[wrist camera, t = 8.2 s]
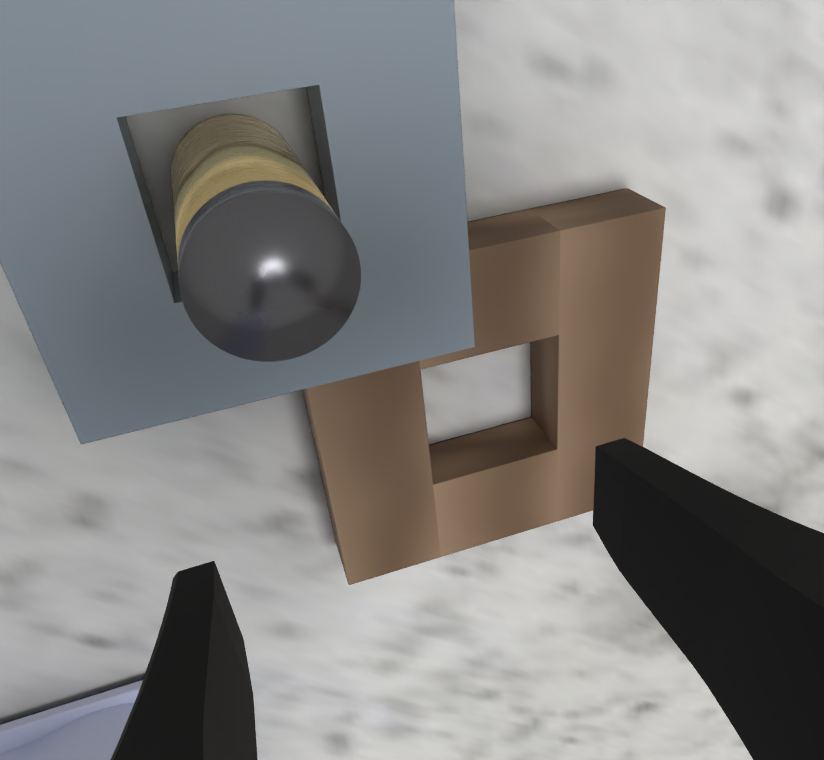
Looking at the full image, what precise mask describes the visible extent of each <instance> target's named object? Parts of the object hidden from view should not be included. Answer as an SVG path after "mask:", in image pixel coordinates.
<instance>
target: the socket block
mask: <svg viewBox="0 0 824 760" xmlns="http://www.w3.org/2000/svg"><path fill="white" fill-rule="evenodd" d="M302 87H307V93H308V98H309V104H310V110H311V116H312V122H313V128H314V134H315V140H316V146H317V152H318V158H319V163H320V169H321V175H322V181H323V187H324V193H325V199H326V201H327V202H328V204H329V205H330V206H331V208H332V209H333V211H334V212H335V214H336V215H337V217H338V218H339V220H340V221H341V222H342V224H343V225H344V227H345V228H346V230H347V231H348V233H349V234H350V236H351V238H352V240H353V242H354V244H355V246H356V249H357V252H358V255H359V260H360V266H361V284H360V291H359V295H358V299H357V302H356V304H355V307H354V309H353V311H352V313H351V315H350V317H349V319H348V320H347V321H346V323H345V324H344V326H343V327H342V328H341V329H340V330H339V331H338V332H337V333H336V335H335V336H333V337H332V338H331V339H330V340H329V341H328V342H326V343H325V344H323V345H322V346H320V347H319V348H317V349H315V350H313V351H311V352H309V353H308V354H305V355H302V356H300V357H297V358H293V359H289V360H283V361H276V362H261V361H252V360H247V359H243V358H239V357H237V356H234V355H231V354H229V353H227V352H225V351H223V350H221V349H219V348H218V347H216V346H215V345H213V344H212V343H210V342H209V341H208V340H207V339H206V338H205V337H203V336H202V334H201V333H200V332H199V331H198V330H197V329H196V328H195V326H194V325H193V323H192V322H191V320H190V319H189V317H188V315H187V313H186V310H185V308H184V305H183V302H182V299H181V294H180V288H179V277H178V272H176V273H172V269H171V266H170V263H169V259H168V256H167V253H166V250H165V246H164V243H163V240H162V237H161V233H160V230H159V227H158V223H157V220H156V217H155V214H154V210H153V207H152V204H151V201H150V197H149V194H148V191H147V187H146V184H145V181H144V178H143V174H142V171H141V168H140V165H139V161H138V158H137V155H136V151H135V148H134V145H133V142H132V138H131V135H130V132H129V129H128V125H127V122H126V119H125V116H130V115H136V114H142V113H148V112H154V111H160V110H167V109H173V108H179V107H185V106H191V105H197V104H204V103H210V102H216V101H222V100H228V99H234V98H240V97H247V96H253V95H259V94H265V93H271V92H277V91H284V90H290V89H296V88H302ZM0 263H1V265H2V267H3V270H4V272H5V274H6V276H7V279H8V281H9V283H10V285H11V288H12V290H13V292H14V294H15V297H16V299H17V301H18V304H19V306H20V308H21V310H22V313H23V315H24V317H25V319H26V322H27V324H28V326H29V328H30V331H31V333H32V335H33V337H34V340H35V342H36V344H37V346H38V349H39V351H40V353H41V355H42V358H43V360H44V362H45V364H46V367H47V369H48V371H49V373H50V376H51V378H52V380H53V382H54V385H55V387H56V389H57V391H58V394H59V396H60V398H61V400H62V403H63V405H64V407H65V409H66V412H67V414H68V416H69V418H70V421H71V423H72V425H73V427H74V430H75V432H76V434H77V436H78V439H79V441H80V443H81V444H85V443H89V442H93V441H97V440H101V439H105V438H109V437H113V436H117V435H121V434H125V433H129V432H133V431H137V430H141V429H145V428H149V427H153V426H157V425H161V424H166V423H170V422H174V421H178V420H182V419H186V418H190V417H194V416H198V415H202V414H206V413H210V412H214V411H218V410H222V409H226V408H230V407H234V406H238V405H242V404H246V403H250V402H254V401H258V400H262V399H267V398H271V397H275V396H279V395H283V394H287V393H291V392H295V391H299V390H303V389H307V388H311V387H315V386H319V385H323V384H327V383H331V382H335V381H339V380H343V379H347V378H351V377H355V376H359V375H363V374H368V373H372V372H376V371H380V370H384V369H388V368H392V367H396V366H400V365H404V364H408V363H412V362H416V361H420V360H424V359H428V358H432V357H436V356H440V355H444V354H448V353H452V352H456V351H460V350H465V349H469V348H473V347H475V343H474V326H473V310H472V293H471V277H470V260H469V243H468V227H467V210H466V193H465V177H464V160H463V144H462V127H461V110H460V94H459V77H458V61H457V44H456V27H455V11H454V0H0Z"/></svg>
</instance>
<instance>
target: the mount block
mask: <svg viewBox="0 0 824 760" xmlns="http://www.w3.org/2000/svg"><path fill="white" fill-rule="evenodd" d="M665 210H666V208H665V207H663V206H661V205H659V204H657V203H655V202H653V201H651V200H649V199H647V198H645V197H643V196H641V195H639V194H637V193H636V192H634V191H632V190H630V189H623V190H618V191H614V192H609V193H604V194H599V195H595V196H590V197H585V198H580V199H576V200H571V201H566V202H561V203H556V204H552V205H547V206H542V207H537V208H533V209H528V210H523V211H518V212H514V213H509V214H504V215H499V216H495V217H490V218H485V219H480V220H476V221H471V222H467V227H468V243H469V260H470V277H471V293H472V310H473V326H474V343H475V347H473V348H469V349H465V350H460V351H456V352H452V353H448V354H444V355H440V356H436V357H432V358H428V359H424V360H420V361H416V362H412V363H408V364H404V365H400V366H396V367H392V368H388V369H384V370H380V371H376V372H372V373H368V374H363V375H359V376H355V377H351V378H347V379H343V380H339V381H335V382H331V383H327V384H323V385H319V386H315V387H311V388H307V389H303V394H304V399H305V403H306V408H307V412H308V417H309V421H310V426H311V431H312V435H313V440H314V444H315V449H316V453H317V458H318V462H319V467H320V472H321V476H322V481H323V485H324V490H325V494H326V499H327V503H328V508H329V513H330V517H331V522H332V526H333V531H334V535H335V540H336V544H337V548H338V551H339V554H340V558H341V561H342V564H343V567H344V571H345V574H346V577H347V581H348V584H349V585H351V584H354V583H358V582H361V581H364V580H367V579H371V578H374V577H377V576H380V575H384V574H387V573H390V572H393V571H397V570H400V569H403V568H406V567H410V566H413V565H416V564H419V563H423V562H426V561H429V560H432V559H436V558H439V557H442V556H446V555H449V554H452V553H455V552H459V551H462V550H465V549H468V548H472V547H475V546H478V545H481V544H485V543H488V542H491V541H494V540H498V539H501V538H504V537H507V536H511V535H514V534H517V533H521V532H524V531H527V530H530V529H534V528H537V527H540V526H543V525H547V524H550V523H553V522H556V521H560V520H563V519H566V518H569V517H573V516H576V515H579V514H582V513H586V512H589V511H592V510H593V508H594V478H595V448H596V446H598V445H602V444H605V443H608V442H612V441H615V440H618V439H622V438H626V439H628V440H630V441H632V442H634V443H636V444H638V445H640V446H642V447H643V440H644V429H645V419H646V408H647V398H648V387H649V377H650V366H651V356H652V345H653V335H654V325H655V314H656V304H657V293H658V283H659V272H660V262H661V251H662V241H663V231H664V220H665ZM528 342H531V410H532V417H531V418H527V419H524V420H520V421H516V422H513V423H509V424H505V425H502V426H498V427H495V428H491V429H487V430H484V431H480V432H476V433H473V434H469V435H465V436H462V437H458V438H454V439H451V440H447V441H443V442H440V443H436V444H432V445H429V444H428V435H427V426H426V416H425V407H424V398H423V389H422V380H421V371H420V369H424V368H428V367H432V366H436V365H440V364H444V363H448V362H452V361H456V360H460V359H464V358H468V357H472V356H476V355H480V354H484V353H488V352H492V351H496V350H500V349H504V348H508V347H512V346H516V345H520V344H524V343H528Z"/></svg>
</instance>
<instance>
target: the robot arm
mask: <svg viewBox="0 0 824 760" xmlns="http://www.w3.org/2000/svg"><path fill="white" fill-rule="evenodd" d="M593 526H594V528H595V530H596V532H597V533H598V535H599V537H600V539H601V540H602V542H603V544H604V546H605V547H606V549H607V551H608V553H609V554H610V556H611V558H612V559H613V561H614V562H615V564H616V566H617V567H618V569H619V571H620V572H621V573H622V575H623V576H624V577H625V579H626V580H627V581H628V583H629V584H630V585H631V587H632V588H633V589H634V590H635V592H636V593H637V594H638V596H639V597H640V598H641V600H642V601H643V602H644V603H645V605H646V606H647V607H648V609H649V610H650V611H651V612H652V614H653V615H654V616H655V618H656V619H657V620H658V621H659V623H660V624H661V625H662V627H663V628H664V629H665V630H666V632H667V633H668V634H669V635H670V637H671V638H672V639H673V641H674V642H675V643H676V644H677V646H678V647H679V648H680V650H681V651H682V652H683V653H684V655H685V656H686V657H687V659H688V660H689V661H690V662H691V664H692V665H693V666H694V668H695V669H696V671H697V672H698V673H699V675H700V676H701V678H702V679H703V680H704V682H705V683H706V685H707V686H708V687H709V689H710V690H711V692H712V694H713V695H714V697H715V698H716V700H717V702H718V703H719V705H720V706H721V708H722V709H723V711H724V713H725V714H726V716H727V717H728V719H729V720H730V722H731V724H732V725H733V727H734V728H735V730H736V732H737V733H738V735H739V736H740V738H741V740H742V741H743V743H744V745H745V746H746V748H747V750H748V751H749V753H750V755H751V756H752V758H753V760H824V533H822V532H819V531H816V530H814V529H811V528H809V527H806V526H804V525H801V524H799V523H796V522H794V521H792V520H789V519H787V518H785V517H782V516H780V515H778V514H776V513H773V512H771V511H769V510H767V509H764V508H762V507H760V506H758V505H755V504H753V503H751V502H749V501H747V500H745V499H743V498H741V497H739V496H736V495H734V494H732V493H730V492H728V491H726V490H724V489H722V488H720V487H718V486H716V485H714V484H712V483H710V482H708V481H706V480H705V479H703V478H701V477H699V476H697V475H695V474H693V473H691V472H689V471H687V470H685V469H684V468H682V467H680V466H678V465H676V464H674V463H672V462H670V461H668V460H667V459H665V458H663V457H661V456H659V455H657V454H655V453H653V452H652V451H650V450H648V449H646V448H644V447H642V446H640V445H638V444H636V443H634V442H632V441H630V440H628V439H626V438H622V439H618V440H615V441H612V442H608V443H605V444H602V445H598V446H596V448H595V478H594V508H593ZM0 760H257V746H256V731H255V716H254V701H253V692H252V686H251V680H250V674H249V668H248V662H247V657H246V651H245V646H244V640H243V637H242V634H241V631H240V629H239V626H238V623H237V621H236V618H235V615H234V613H233V610H232V607H231V605H230V602H229V599H228V597H227V594H226V591H225V589H224V586H223V583H222V581H221V578H220V575H219V572H218V570H217V567H216V564H215V562H214V561H212V562H209V563H205V564H202V565H199V566H195V567H192V568H189V569H185V570H182V571H179V572H178V573H177V574H176V575H175V577H174V578H173V582H172V586H171V591H170V595H169V599H168V603H167V607H166V611H165V614H164V618H163V621H162V625H161V628H160V631H159V634H158V638H157V641H156V644H155V647H154V650H153V653H152V656H151V659H150V662H149V664H148V667H147V670H146V673H145V676H144V679H143V680H141V681H138V682H134V683H131V684H128V685H125V686H122V687H119V688H115V689H112V690H109V691H106V692H103V693H99V694H96V695H93V696H90V697H87V698H84V699H80V700H77V701H74V702H71V703H68V704H65V705H61V706H58V707H55V708H52V709H49V710H46V711H42V712H39V713H36V714H33V715H30V716H26V717H23V718H20V719H17V720H14V721H11V722H7V723H4V724H1V725H0Z"/></svg>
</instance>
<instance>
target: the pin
mask: <svg viewBox="0 0 824 760" xmlns="http://www.w3.org/2000/svg"><path fill="white" fill-rule="evenodd" d="M171 176H172V192H173V206H174V220H175V234H176V249H177V263H178V277H179V288H180V294H181V299H182V302H183V305H184V308H185V310H186V313H187V315H188V317H189V319H190V320H191V322H192V323H193V325H194V326H195V328H196V329H197V330H198V331H199V332H200V333H201V334H202V336H203V337H205V338H206V339H207V340H208V341H209V342H210V343H212V344H213V345H215V346H216V347H218V348H219V349H221V350H223V351H225V352H227V353H229V354H231V355H234V356H237V357H239V358H243V359H247V360H252V361H261V362H276V361H283V360H289V359H293V358H297V357H300V356H302V355H305V354H308V353H309V352H311V351H313V350H315V349H317V348H319V347H320V346H322V345H323V344H325V343H326V342H328V341H329V340H330V339H331V338H332V337H333V336H335V335H336V333H337V332H338V331H339V330H340V329H341V328H342V327H343V326H344V324H345V323H346V321H347V320H348V319H349V317H350V315H351V313H352V311H353V309H354V307H355V304H356V302H357V299H358V295H359V291H360V284H361V266H360V260H359V255H358V252H357V249H356V246H355V244H354V242H353V240H352V238H351V236H350V234H349V233H348V231H347V230H346V228H345V227H344V225H343V224H342V222H341V221H340V220H339V218H338V217H337V215H336V214H335V212H334V211H333V209H332V208H331V206H330V205H329V204H328V202H327V201H326V199H325V198H324V196H323V195H322V193H321V192H320V190H319V189H318V188H317V186H316V185H315V183H314V182H313V180H312V179H311V177H310V176H309V174H308V173H307V171H306V170H305V169H304V167H303V166H302V164H301V163H300V161H299V160H298V158H297V157H296V155H295V154H294V153H293V151H292V150H291V148H290V147H289V145H288V144H287V142H286V141H285V140H284V139H283V137H282V136H281V135H280V134H279V133H278V132H277V131H275V130H274V129H273V128H272V127H270V126H269V125H267V124H266V123H264V122H262V121H260V120H258V119H255V118H252V117H249V116H244V115H236V114H229V115H221V116H216V117H213V118H210V119H207V120H205V121H203V122H201V123H200V124H198V125H197V126H195V127H194V128H193V129H191V130H190V131H189V132H188V133H187V134H186V136H185V137H184V138H183V139H182V141H181V142H180V144H179V146H178V148H177V150H176V152H175V155H174V158H173V162H172V170H171Z"/></svg>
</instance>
